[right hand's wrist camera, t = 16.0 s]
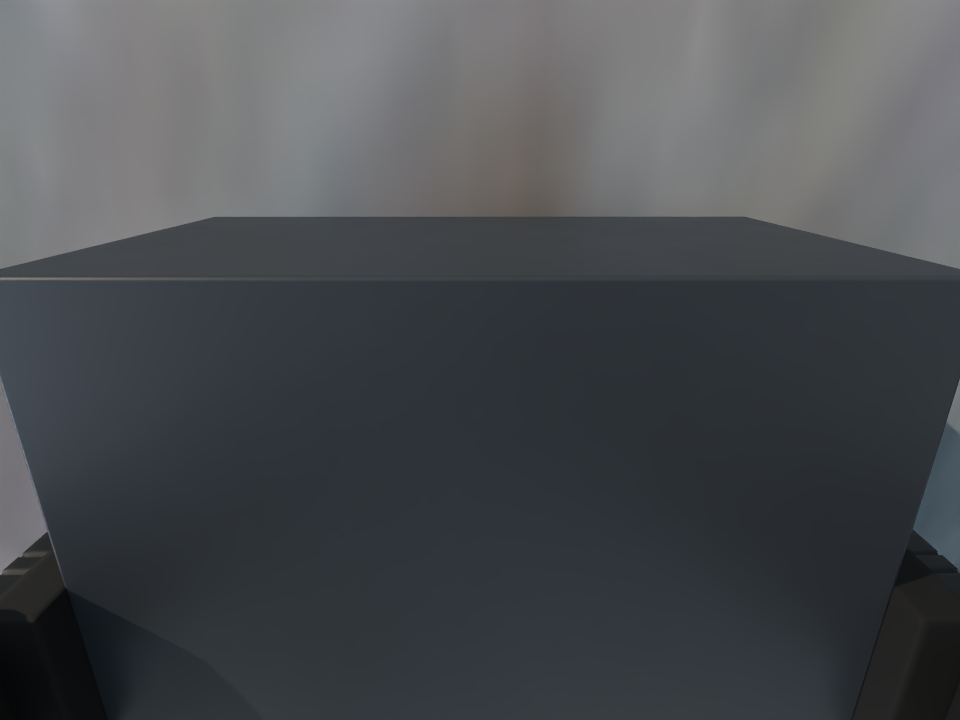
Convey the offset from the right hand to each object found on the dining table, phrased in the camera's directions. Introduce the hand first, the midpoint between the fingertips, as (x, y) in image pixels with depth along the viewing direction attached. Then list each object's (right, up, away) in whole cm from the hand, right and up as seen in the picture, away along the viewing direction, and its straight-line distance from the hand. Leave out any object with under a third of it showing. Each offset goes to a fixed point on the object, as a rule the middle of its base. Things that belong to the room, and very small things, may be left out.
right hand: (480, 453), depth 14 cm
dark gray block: (0, 0, 0) cm, 0 cm away
